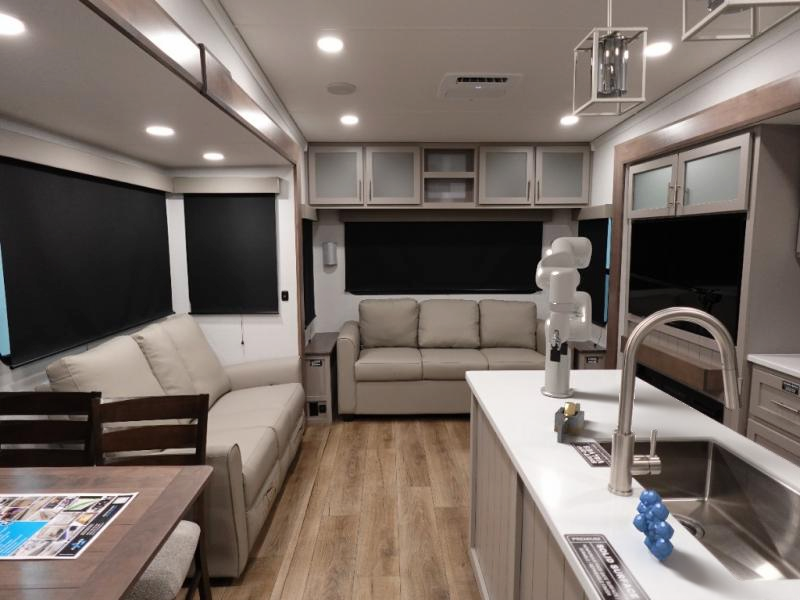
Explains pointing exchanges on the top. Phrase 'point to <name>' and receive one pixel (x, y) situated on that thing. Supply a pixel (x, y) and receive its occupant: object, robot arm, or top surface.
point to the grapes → (654, 524)
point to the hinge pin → (569, 408)
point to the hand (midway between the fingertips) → (558, 358)
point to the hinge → (568, 423)
